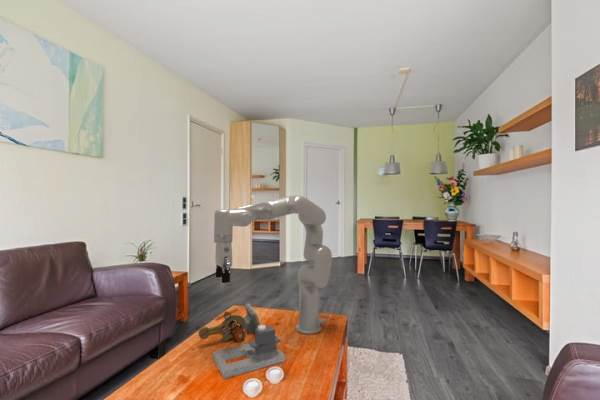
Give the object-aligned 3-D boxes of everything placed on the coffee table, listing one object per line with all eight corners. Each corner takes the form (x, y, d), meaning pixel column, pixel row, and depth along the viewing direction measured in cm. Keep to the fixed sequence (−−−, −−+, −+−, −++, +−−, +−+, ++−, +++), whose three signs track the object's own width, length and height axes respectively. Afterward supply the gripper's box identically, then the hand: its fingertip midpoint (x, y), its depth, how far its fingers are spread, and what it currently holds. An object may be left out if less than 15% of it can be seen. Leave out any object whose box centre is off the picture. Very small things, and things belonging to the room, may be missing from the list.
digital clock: (263, 335, 138) (263, 312, 138) (243, 337, 136) (243, 314, 136) (260, 321, 154) (260, 301, 154) (242, 323, 152) (243, 302, 152)
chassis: (268, 344, 129) (268, 338, 129) (284, 361, 116) (284, 354, 116) (212, 357, 117) (213, 351, 117) (224, 378, 104) (224, 371, 104)
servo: (275, 343, 125) (276, 320, 125) (280, 347, 121) (280, 324, 121) (249, 350, 119) (249, 326, 119) (253, 355, 115) (253, 330, 115)
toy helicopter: (247, 339, 134) (248, 309, 134) (201, 351, 122) (201, 318, 122) (240, 332, 140) (241, 304, 140) (196, 343, 129) (196, 312, 129)
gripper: (238, 240, 118) (237, 283, 117) (226, 236, 133) (225, 274, 133) (219, 241, 114) (218, 286, 114) (209, 237, 129) (208, 276, 129)
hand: (222, 279), depth 123 cm, fingers open, 9 cm apart
